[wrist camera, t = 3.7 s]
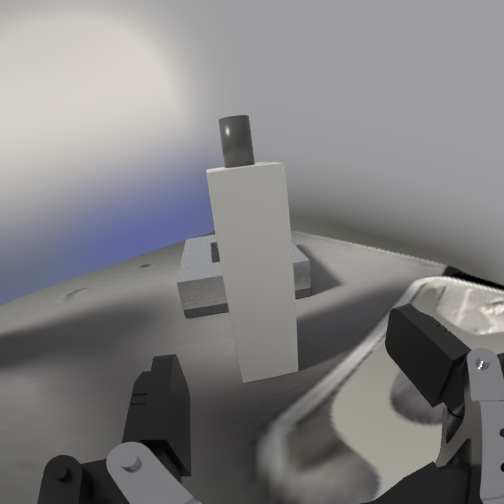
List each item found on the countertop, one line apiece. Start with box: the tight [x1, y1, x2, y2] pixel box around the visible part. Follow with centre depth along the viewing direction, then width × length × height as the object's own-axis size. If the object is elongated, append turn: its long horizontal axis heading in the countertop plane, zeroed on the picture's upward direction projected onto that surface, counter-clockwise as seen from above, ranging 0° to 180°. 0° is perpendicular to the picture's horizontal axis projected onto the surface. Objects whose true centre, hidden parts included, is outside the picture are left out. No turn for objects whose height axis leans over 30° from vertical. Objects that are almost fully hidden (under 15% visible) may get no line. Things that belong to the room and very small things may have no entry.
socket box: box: [177, 235, 311, 318], centre depth 34 cm, size 13×15×5 cm
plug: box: [207, 115, 298, 383], centre depth 18 cm, size 4×6×17 cm
